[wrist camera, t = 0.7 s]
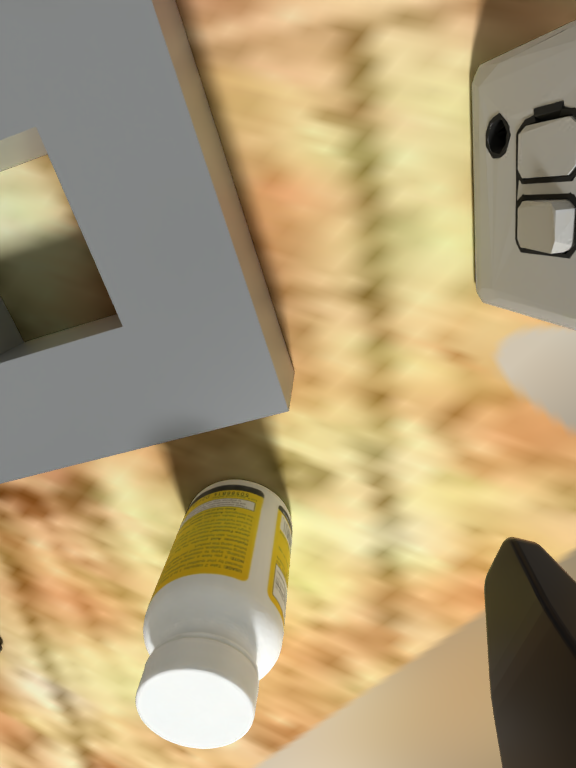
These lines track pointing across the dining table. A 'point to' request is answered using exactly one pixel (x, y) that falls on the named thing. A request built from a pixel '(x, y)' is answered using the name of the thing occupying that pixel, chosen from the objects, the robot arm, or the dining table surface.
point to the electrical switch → (527, 178)
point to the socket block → (131, 242)
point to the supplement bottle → (216, 616)
